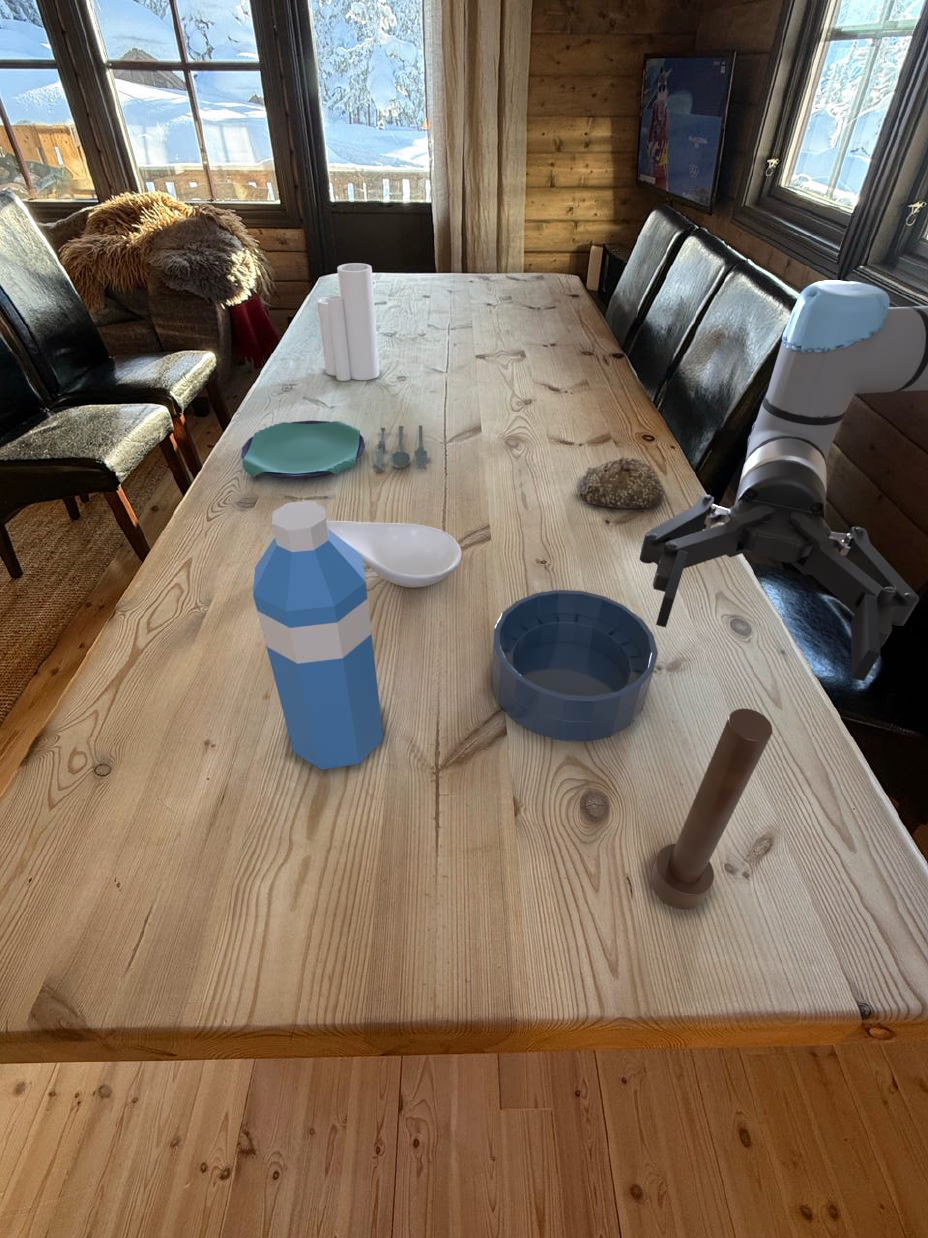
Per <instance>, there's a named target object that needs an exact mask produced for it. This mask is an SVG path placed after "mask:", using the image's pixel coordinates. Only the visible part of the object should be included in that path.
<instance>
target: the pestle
mask: <svg viewBox="0 0 928 1238" xmlns="http://www.w3.org/2000/svg"><path fill="white" fill-rule="evenodd" d="M723 727H724V728H723V730H722V732H721V735H720V736H719V739H718V742H717V743H716V746H715V749H714V751H713V754H712V756H711V758H710V761H709V763H708V764H707V765H708V766H707V768H706V770H705V773H704V775H703V777H702V780H701V782H700V785H699V787H698V790H697V792H696V794H695V797H694V799H693V801H692V804H691V806H690V809H689V811H688V813H687V816H686V818H685V820H684V823H683V826H682V828H681V830H680V834H679V835H678V838H677V840H676V842H672V843H669V844H666V845H665V846H663V847H662V848H661V849H660V851H659V852H658V854H657V857H656V859H655V861H654V864H653V867H652V870H651V874H650V883H651V886H652V888H653V889H652V890H653V891H654V893H655V894H656V896H657V897H658V898H659V899H660V900H661V901H662V902H663V903H665V904H666V905H667V906H670V907H672V908H674V909H677V910H684V911H685V910H686V911H687V910H692V909H695V908H698V907H700V905H702V903H703V902H704V901H705V898H706V897H707V895H708V893H709V891H710V889H711V887H712V885H713V883H714V878H715V874H714V872H715V871H714V869H713V865H712V863H711V861H710V860H711V858H712V856H713V854H714V852H715V850H716V849H717V847H718V844H719V842H720V840H721V838H722V836H723V834H724V832H725V829H726V828H727V826H728V824H729V822H730V819H731V818H732V816H733V813H734V811H735V809H736V807H737V805H738V804H739V802H740V800H741V798H742V796H743V794H744V791H745V789H746V787H747V786H748V784H749V781H750V779H751V778H752V775H753V773H754V771H755V769H756V767H757V765H758V763H759V761H760V760H761V758H762V755H763V753H764V750H765V749H766V747H767V745H768V743H769V741H770V739H771V737H772V735H773V726H772V724H771V722H770V720H769V719H768V718H767V717H766V716H765V715H764V714H762V713H761V712H759V711H757V710H753V709H750V708H737V709H734V710H733V711H732V712H731V713H730V714H729V715H728V717H727V720H726V722H725V725H724V726H723Z"/></svg>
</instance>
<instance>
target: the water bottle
mask: <svg viewBox="0 0 928 1238" xmlns="http://www.w3.org/2000/svg"><path fill="white" fill-rule="evenodd" d="M271 519H272V520H271V524H272V525H271V526H272V529H273V534H274V538H273V539H272V541H271V542H270V544H269V545H268V547H267V548H266V549H265V551H264V553H263V554H262V556H261V557H260V559H259V560H258V562H257V563H256V565H255V566H254V573H253V574H254V577H253V588H252V596H253V600H254V605H255V607H256V608H255V609H256V612H257V616H258V620H259V624H260V627H261V631H262V635H263V639H264V644H265V647H266V651H267V654H268V659H269V663H270V666H271V670H272V674H273V678H274V682H275V685H276V690H277V693H278V698H279V701H280V705H281V709H282V713H283V717H284V721H285V725H286V728H287V733H288V737H289V740H290V743H291V748H292V751H293V753H294V754H295V755H297V756H299V757H300V758H302V759H303V760H305V761H306V762H308V763H310V764H311V765H312V766H314V767H316V768H317V769H318V770H320V771H321V770H328V769H329V770H330V769H334V768H335V769H336V768H342V767H349V766H355V765H360V764H362V762H363V761H364V760H365V759H366V758H367V757H368V756H369V755H370V754H371V753H372V752H373V750H375V748H377V747H378V746H379V745H380V744H381V743H382V742H383V741H384V733H383V723H382V715H381V704H380V697H379V687H378V679H377V669H376V662H375V660H376V659H375V652H374V644H373V643H374V641H373V634H372V624H371V616H370V607H369V606H370V605H369V599H368V588H367V580H366V573H365V565H364V564H365V563H364V562H363V556H362V555H361V554H359V553H358V552H357V551H356V550H354V549H353V548H352V547H351V546H349V545H348V544H347V543H346V542H344V541H343V540H342V539H340V538H339V537H338V536H337V535H335V534H334V533H333V532H332V531H330V530H329V529H328V524H327V521H328V518H327V511H326V507H325V506H323V505H321V504H319V503H316V502H314V501H311V500H303V501H302V500H301V501H290V502H287V503H285V504H283V505H281V506H280V507H279V508H276V509H275V510H273V511H272V518H271Z"/></svg>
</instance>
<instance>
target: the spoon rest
mask: <svg viewBox="0 0 928 1238" xmlns="http://www.w3.org/2000/svg"><path fill="white" fill-rule="evenodd" d="M327 524H328V529H329V530H330V531H332V532H333V533H334V534H335V535H337V536H338V537H339V538H340V539H342V540H343V541H344V542H346V543H347V544H348V545H349V546H351V547H352V548H353V549H354V550H356V551H357V552H358V553H359V554H361V555H362V556H363V564H365V565H366V566H367V567H368V568H370V569H371V570H372V571H373V572H374V573H375V574H376V575H378V577H380V578H382V579H384V581H387V582H389V583H391V584H394V585H397V586H400V587H404V588H423V587H429V586H432V585H435V584H437V583H439V582H441V581H444V580H445V579H446V578H448V577H449V576H450V575H451V574H453V572H454V571H455V570H456V569H457V568H458V567H459V565H460V563H461V560H462V548H461V546H460V543H458V541H457V539H455V538H454V537H453V536H451V534H449V533H447V532H445V531H444V530H442V529H438V528H435V527H432V526H428V525H423V524H416V523H402V522H398V523H397V522H367V521H365V522H364V521H346V520H327Z"/></svg>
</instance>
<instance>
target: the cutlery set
mask: <svg viewBox="0 0 928 1238" xmlns="http://www.w3.org/2000/svg"><path fill="white" fill-rule="evenodd" d="M423 427H424V425H423V424H422V425H418V447H417V450H415V451H414V458H415V466H416V470H419V468H420V470H422V469H423V468H424V470H426V468H427V459H428V450H425V449H424V448H425V447H424V440H423V438H424V437H423V434H424V433H423V429H424V428H423ZM404 428H405V427H404V425H398V451H395V452H394V453H392V454H391V456H390V458H389V461H390V464H391V465H392V466H393V467H394V468H396V469H400V468H401V469H403V468H405V467H406V466H408V465H409V463H410V462H411V457H410V454H409V453H407V452H406V451H404V450H403V439H404V430H405V429H404ZM380 430H381V436H380V440H379V441H378V444H377V450H378V451H377V454H376V468H377V469H378V470H379V471H382V467H383V456H384V451H386V442H385V432H386V427H380ZM365 448H366V445H365V439H364V436H362V434H361V429H358V428H357V427H355V426H353V425H350V424H348V423H345V422H343V421H338V420H334V421H327V420H300V421H290V422H287V421H284V422H283V421H282V422H279V423H274V424H273V425H269V426H268V427H264V428H263V429H259V430H258V431H255V432H254V433H253V436H251V437H249V438H248V439H247V441H246V442H245V443H244V444H243V445H242V447H241V455H240V457H241V459H242V468H243V470H244V471H245V472H246V473H247V474H248V475H249V476H251V477H253V478H254V479H256V476H257V475H259V474H263V475H267V476H270V477H275V478H286V479H304V478H312V477H320V476H322V475H323V476H324V475H327V474H331V473H333V474H334V475H336V476H337V475H338V474H341V473H342V472H344V471H347V470H349V469H352V468H353V467H354V466H355V465H356V462H357V460H358V459H359V458H360V457H362V454H363V452H364V450H365Z"/></svg>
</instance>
